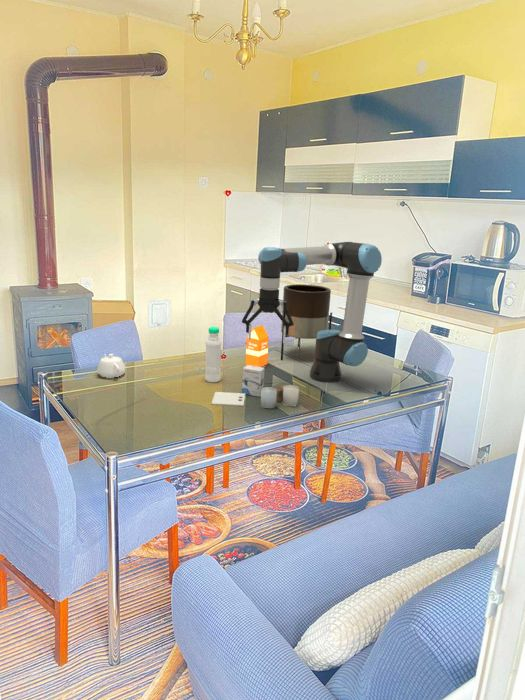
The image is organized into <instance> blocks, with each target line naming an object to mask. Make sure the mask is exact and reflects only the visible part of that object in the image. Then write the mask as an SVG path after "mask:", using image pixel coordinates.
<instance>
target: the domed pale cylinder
mask: <svg viewBox="0 0 525 700" xmlns="http://www.w3.org/2000/svg"><path fill="white" fill-rule="evenodd" d="M272 387H273V386H272ZM272 387H270V386H268V387H267V386H264V388H262V389H261V396H260V402H259V403H260V405H259V407H260V408H262V409H264V408H273V409H275V408H276V407H277V401H276V396H277V390H276V389H275V388H272ZM274 407H275V408H274Z"/></svg>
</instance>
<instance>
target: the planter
mask: <svg viewBox="0 0 525 700" xmlns="http://www.w3.org/2000/svg"><path fill="white" fill-rule="evenodd" d="M331 293H332V290H331V289H330V288H329V287H326V286H322V285H314V284H301V283H300V284H289V285H288V284H287V285H285V286H283V297H282V302H284V301H286V305H287V309H288V311H289V313H290V316H291V318H292V320H293V323H294V325H293V326H289V331H288V335H285V338H289V337H290V338H296V339H298V342H297V348H298V347H300V345H301V339H303V340H304V339H308V340H310V339H311V340H312V339H313V340H314V339H315V340H316V338H317V333H318V332H319V331H322V330H332V322H333V321H332V319H333V312H330V305H331ZM281 314H282V316H283V317H284V318H285V319H286V321H287V322H288V323H289V320H288V318H287V315H286V313H285V311H284V307H282V312H281ZM280 325H281V327H280V329H281V330H280V331H281V333H282V335H281V350H280V361H283V360H284V344H285V343H283V331H284V326H285V324H284V323H283V322H282V321H281V324H280Z"/></svg>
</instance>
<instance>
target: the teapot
mask: <svg viewBox="0 0 525 700" xmlns="http://www.w3.org/2000/svg"><path fill="white" fill-rule="evenodd" d="M96 370H97V373H98V375H99V376H101V377H102V376H103V377H109V378H110V377H111V378H112V379H114V378H113V377H118V378H120V377H122V376H123V375H124V373H125V372H126V365H125V363H124V361H123V359H122V358H121V357H120V356H114V354H113V353H109V354H108V356H107V354H106V353H103V357H102V358H101V359H100V360H99V362H98V365H97V369H96ZM121 375H122V376H121ZM119 376H120V377H119ZM103 377H102V378H103Z"/></svg>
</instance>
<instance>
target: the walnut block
mask: <svg viewBox="0 0 525 700" xmlns="http://www.w3.org/2000/svg"><path fill="white" fill-rule="evenodd" d="M284 386H285V385H277V386H272V388H275V389H276V390H277V396H276V402H277V401H279V402H283V387H284Z"/></svg>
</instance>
